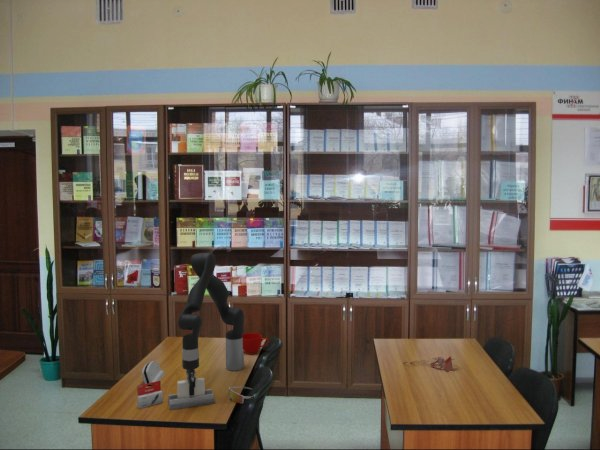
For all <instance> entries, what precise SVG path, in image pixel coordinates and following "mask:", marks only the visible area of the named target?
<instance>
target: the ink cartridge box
mask: <svg viewBox="0 0 600 450" xmlns="http://www.w3.org/2000/svg"><path fill="white" fill-rule="evenodd" d="M149 385H150V386H149ZM161 385H162V384H161V380H160V381H156V382H152V383H148V384H145V383H144V384H140V385H137V387H136V388H137V392H136V393H137V395H136V396H137V397H136V398H137V400H136V401H137V402H136V403H137V404H136V406H137V408H138V409H143V408H145V407H151V406H154V405H157V404H161V403H164V402H163V401H164V398H163V397H164V396H163V391H162V386H161Z"/></svg>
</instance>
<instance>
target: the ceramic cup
mask: <svg viewBox="0 0 600 450" xmlns="http://www.w3.org/2000/svg"><path fill="white" fill-rule="evenodd" d="M264 340H266V341H267V342H266V343H265V344H263V345H262V342H263V341H264ZM268 344H269V338H267V337H263V335H262V334H260V333H258V332H247V333H243V351H244V353H246V354H248V355H255V354H256V353H258V352H259V350H261V349H260V348H262V347H266V346H267V345H268Z"/></svg>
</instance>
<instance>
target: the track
mask: <svg viewBox="0 0 600 450" xmlns="http://www.w3.org/2000/svg"><path fill="white" fill-rule="evenodd" d="M167 397H168V398H167V402H168V406H169V410H170V411H173V410H180V409H185V408H192V407H199V406H200V407H201V406H205V405H212V404H216V401H215V393H213V389H212V388H209V389H205V395H200V396H193V397H186V398H179V399H178V393H175V394H174V393H172V394H168V395H167Z"/></svg>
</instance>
